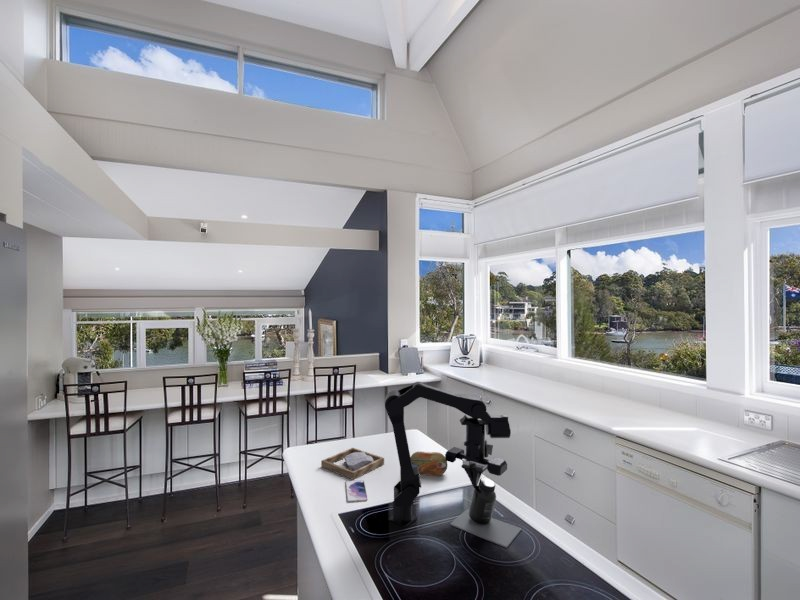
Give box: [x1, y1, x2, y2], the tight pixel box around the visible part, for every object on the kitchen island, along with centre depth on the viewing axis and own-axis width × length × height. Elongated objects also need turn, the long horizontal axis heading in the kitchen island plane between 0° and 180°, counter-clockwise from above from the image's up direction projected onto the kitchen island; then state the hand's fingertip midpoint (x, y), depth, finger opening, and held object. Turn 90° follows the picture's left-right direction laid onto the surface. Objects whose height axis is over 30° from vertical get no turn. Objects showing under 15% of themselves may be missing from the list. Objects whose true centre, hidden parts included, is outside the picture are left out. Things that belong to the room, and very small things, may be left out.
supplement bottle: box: [468, 477, 497, 525], centre depth 123 cm, size 7×7×12 cm
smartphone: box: [344, 479, 369, 503], centre depth 143 cm, size 7×1×15 cm
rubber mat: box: [449, 508, 522, 549], centre depth 121 cm, size 11×18×1 cm, turn 52°
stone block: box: [344, 451, 374, 471], centre depth 165 cm, size 12×5×10 cm
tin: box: [410, 451, 448, 477], centre depth 157 cm, size 15×3×8 cm, turn 82°
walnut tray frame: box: [320, 447, 385, 481], centre depth 164 cm, size 18×18×2 cm
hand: (475, 487), depth 125 cm, fingers closed
